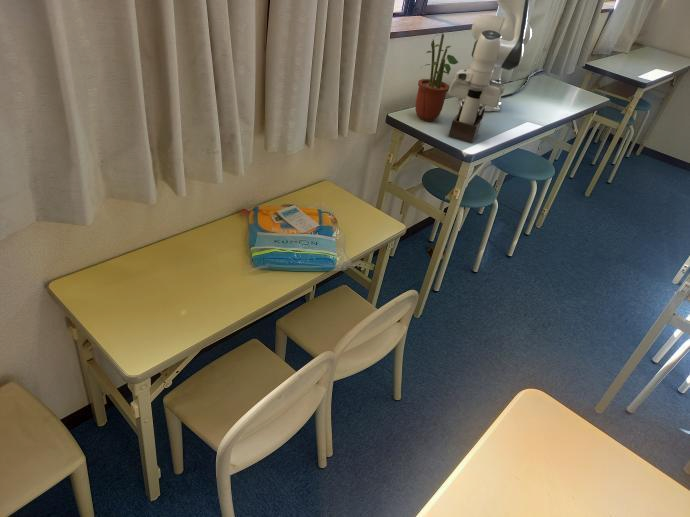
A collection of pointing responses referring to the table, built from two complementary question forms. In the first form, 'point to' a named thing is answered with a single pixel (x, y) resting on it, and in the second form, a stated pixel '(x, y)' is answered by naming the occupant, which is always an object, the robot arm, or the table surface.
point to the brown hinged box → (465, 127)
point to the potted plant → (433, 86)
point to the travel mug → (470, 107)
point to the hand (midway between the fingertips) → (469, 111)
